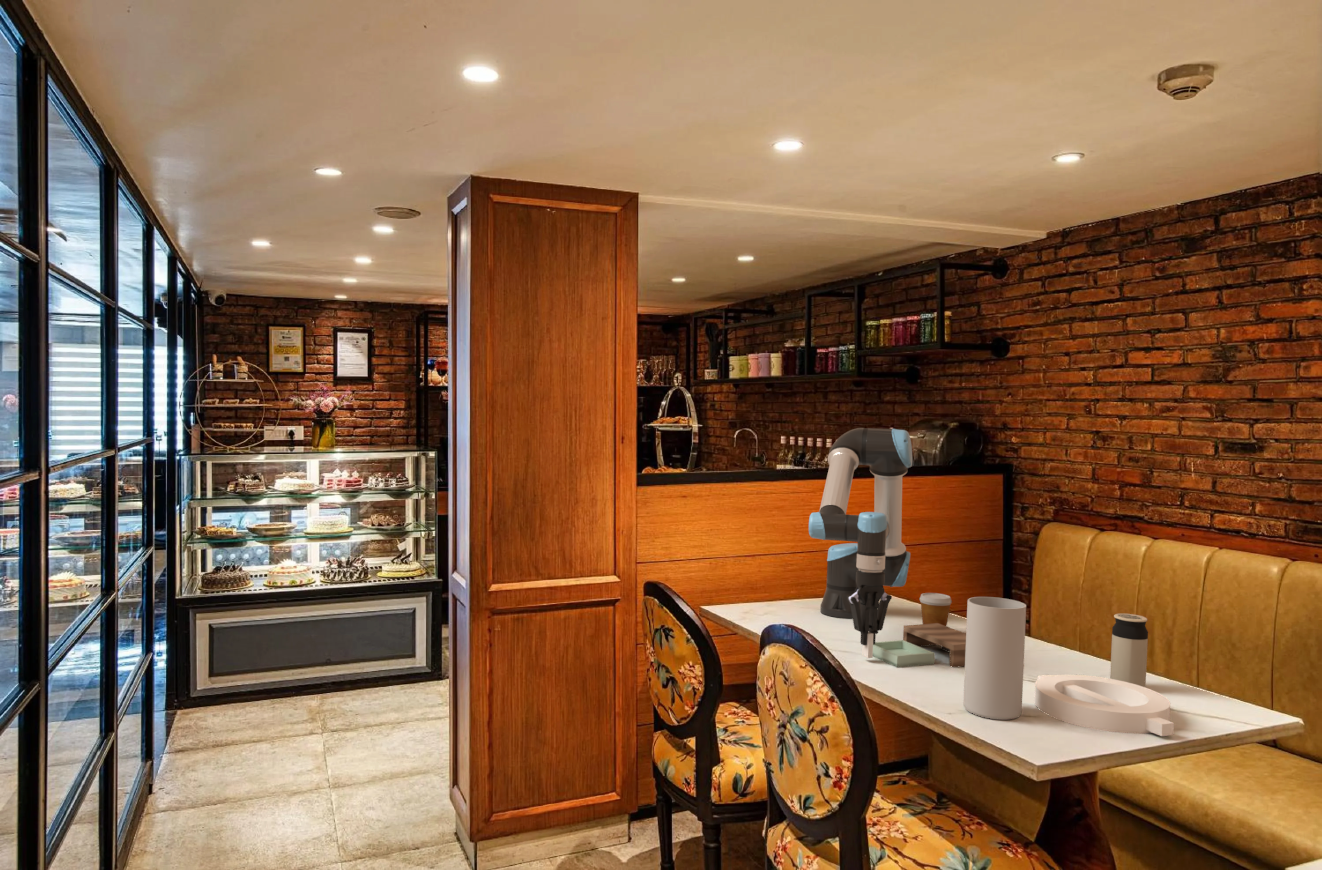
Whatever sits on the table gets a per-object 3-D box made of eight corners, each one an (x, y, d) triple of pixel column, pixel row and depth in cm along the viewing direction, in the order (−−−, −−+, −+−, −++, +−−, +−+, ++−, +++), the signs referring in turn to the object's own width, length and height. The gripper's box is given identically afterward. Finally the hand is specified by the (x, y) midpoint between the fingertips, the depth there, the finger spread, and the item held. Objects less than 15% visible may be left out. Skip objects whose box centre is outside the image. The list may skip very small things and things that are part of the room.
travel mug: (1126, 693, 223) (1129, 621, 223) (1102, 683, 231) (1105, 613, 230) (1152, 691, 225) (1156, 619, 225) (1128, 682, 233) (1131, 612, 233)
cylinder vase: (974, 698, 215) (979, 594, 215) (1028, 711, 207) (1033, 603, 207) (954, 711, 206) (959, 602, 205) (1010, 725, 198) (1015, 611, 197)
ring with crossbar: (1174, 743, 191) (1176, 721, 190) (1031, 720, 202) (1032, 699, 202) (1163, 705, 216) (1164, 685, 216) (1036, 687, 228) (1037, 668, 228)
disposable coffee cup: (946, 631, 282) (948, 593, 281) (953, 639, 272) (955, 599, 272) (915, 630, 282) (916, 591, 282) (921, 637, 273) (922, 598, 273)
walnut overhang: (902, 646, 262) (903, 625, 262) (936, 643, 267) (937, 623, 267) (953, 667, 242) (953, 645, 242) (989, 663, 246) (989, 642, 246)
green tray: (866, 653, 253) (867, 642, 253) (902, 650, 258) (903, 640, 257) (896, 667, 240) (897, 656, 240) (934, 664, 244) (934, 653, 244)
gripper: (857, 573, 238) (854, 662, 239) (899, 571, 243) (895, 658, 244) (842, 568, 245) (839, 654, 246) (882, 566, 250) (879, 651, 251)
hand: (867, 656), depth 245 cm, fingers closed
